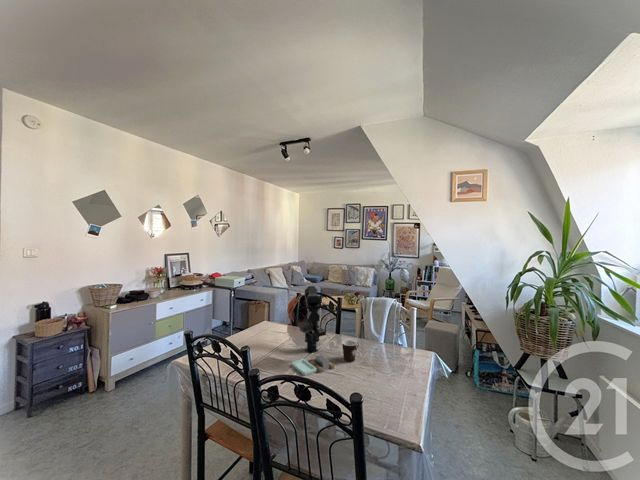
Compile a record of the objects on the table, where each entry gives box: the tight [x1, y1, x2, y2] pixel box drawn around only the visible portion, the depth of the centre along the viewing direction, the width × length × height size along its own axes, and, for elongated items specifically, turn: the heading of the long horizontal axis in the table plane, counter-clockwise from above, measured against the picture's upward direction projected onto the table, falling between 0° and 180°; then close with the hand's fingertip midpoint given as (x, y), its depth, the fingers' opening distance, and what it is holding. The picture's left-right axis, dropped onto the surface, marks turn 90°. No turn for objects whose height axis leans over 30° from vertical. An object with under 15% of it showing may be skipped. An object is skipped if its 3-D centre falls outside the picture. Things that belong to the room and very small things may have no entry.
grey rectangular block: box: [314, 354, 330, 372], centre depth 155 cm, size 8×4×5 cm, turn 32°
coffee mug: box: [341, 339, 360, 363], centre depth 165 cm, size 12×9×10 cm
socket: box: [307, 358, 335, 373], centre depth 157 cm, size 12×9×2 cm
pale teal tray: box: [291, 358, 318, 377], centre depth 153 cm, size 14×8×2 cm, turn 34°
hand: (313, 343), depth 163 cm, fingers closed
